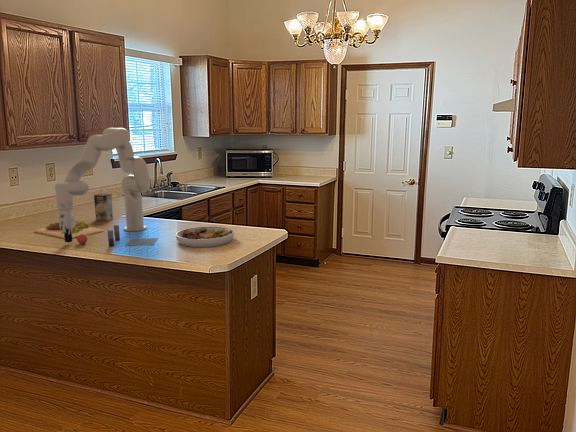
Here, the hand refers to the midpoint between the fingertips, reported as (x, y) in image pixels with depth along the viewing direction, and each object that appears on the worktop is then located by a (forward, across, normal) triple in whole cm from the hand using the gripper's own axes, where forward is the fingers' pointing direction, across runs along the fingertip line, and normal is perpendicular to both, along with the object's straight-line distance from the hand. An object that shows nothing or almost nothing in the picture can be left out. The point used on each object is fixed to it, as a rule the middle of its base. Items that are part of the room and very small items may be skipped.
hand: (68, 241), depth 255 cm
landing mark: (+1, +1, -37) cm, 37 cm away
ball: (-1, 0, -7) cm, 7 cm away
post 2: (+1, +6, -23) cm, 24 cm away
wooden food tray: (+2, +30, +11) cm, 32 cm away
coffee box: (+2, +64, 0) cm, 64 cm away
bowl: (+2, -1, -70) cm, 70 cm away
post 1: (+1, -6, -23) cm, 24 cm away
